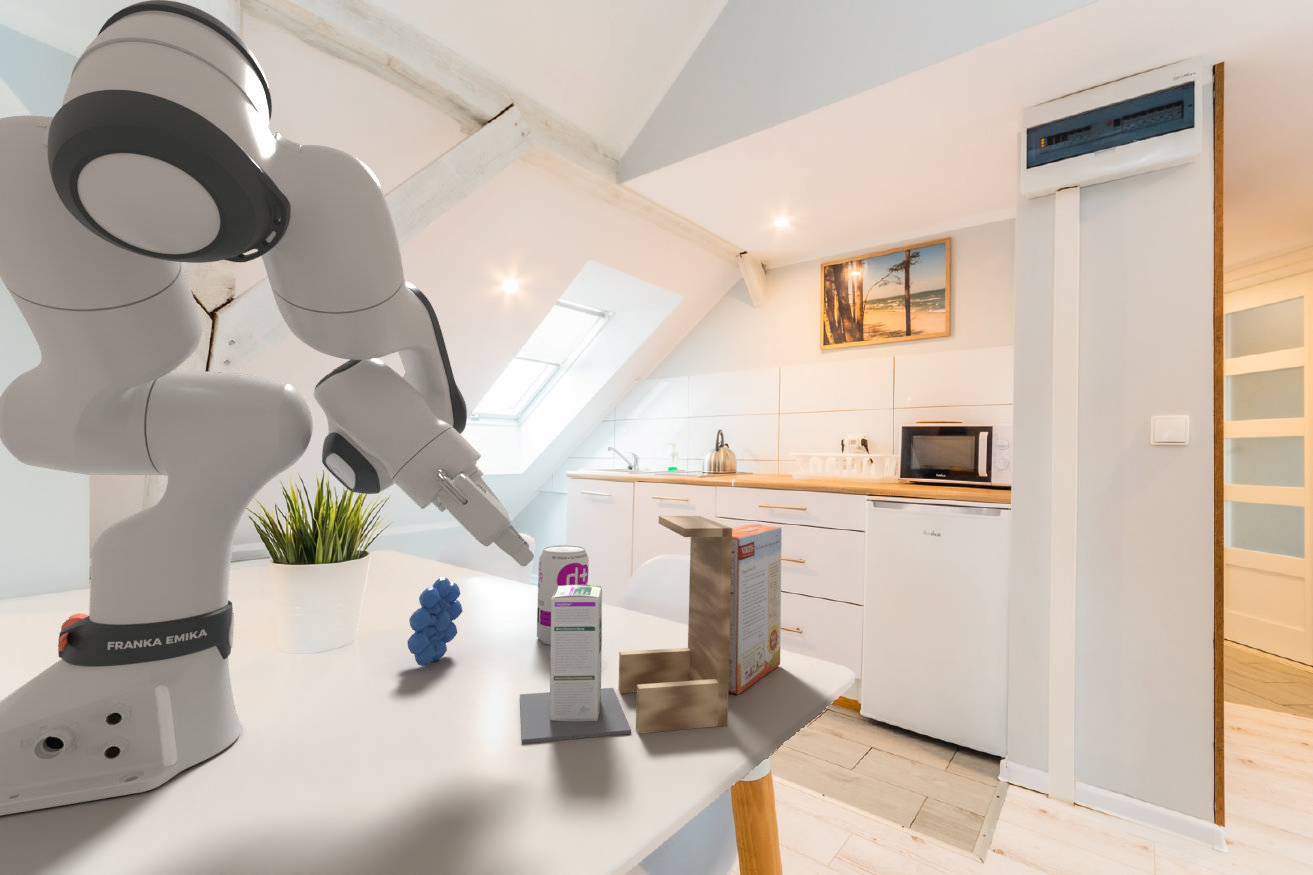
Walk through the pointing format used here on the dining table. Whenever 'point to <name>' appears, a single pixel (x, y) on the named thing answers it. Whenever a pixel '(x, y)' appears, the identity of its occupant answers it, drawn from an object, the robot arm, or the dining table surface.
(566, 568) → the supplement can
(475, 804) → the dining table surface
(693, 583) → the shelf slot
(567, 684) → the syrup box
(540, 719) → the mat
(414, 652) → the grapes
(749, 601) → the cracker box
